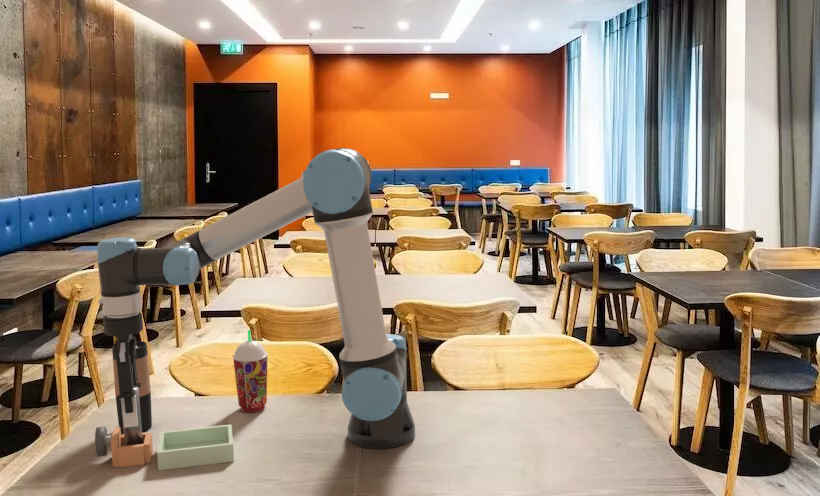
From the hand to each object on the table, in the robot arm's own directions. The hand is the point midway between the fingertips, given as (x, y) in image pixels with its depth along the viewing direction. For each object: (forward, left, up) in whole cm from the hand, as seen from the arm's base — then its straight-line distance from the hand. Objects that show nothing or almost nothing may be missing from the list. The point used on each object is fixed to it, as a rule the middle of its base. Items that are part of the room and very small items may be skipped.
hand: (132, 422), depth 159 cm
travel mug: (+1, -17, -8) cm, 19 cm away
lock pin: (0, 0, -6) cm, 6 cm away
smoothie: (-26, -22, -8) cm, 35 cm away
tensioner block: (+2, 0, -8) cm, 8 cm away
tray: (-13, +2, -8) cm, 15 cm away
